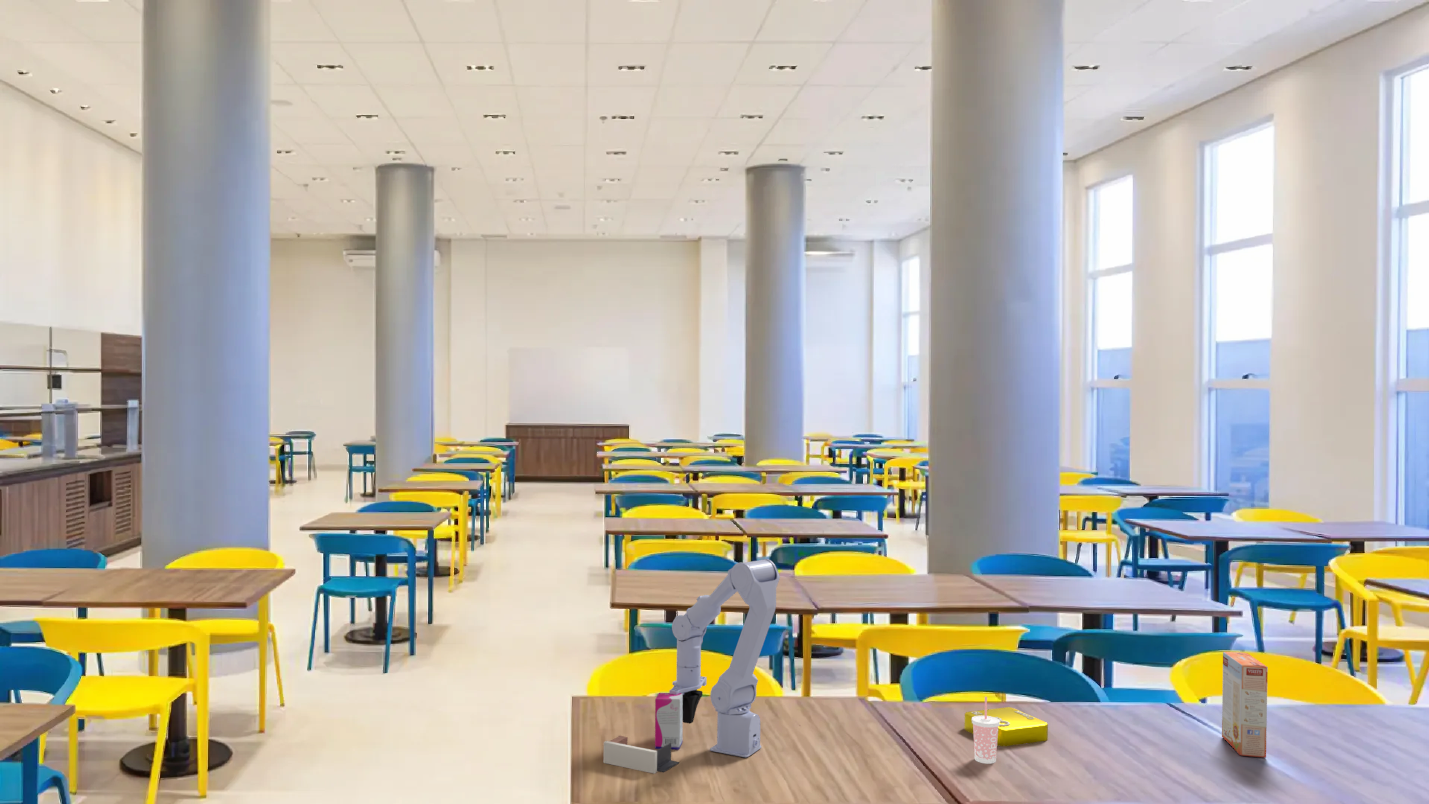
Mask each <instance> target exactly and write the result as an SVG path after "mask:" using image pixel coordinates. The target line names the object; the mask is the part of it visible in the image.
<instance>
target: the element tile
mask: <svg viewBox="0 0 1429 804" xmlns="http://www.w3.org/2000/svg"><path fill="white" fill-rule="evenodd" d="M974 716H985V709H982V710H981V709H980V710H973V711H972V710H971V711H965V713H964V722H963V723H964V724H963V726H964V727H963V728H964V731H966V732H968V733H970V734H972V735H974V734H973V723H972V717H974ZM987 716H991V717H995V718H997V719H999V720H1000V725H999V726H998V739H997V747H1010V746H1020V745H1027V744H1026V743H1028V744H1033V743H1040V742H1046V741H1048V740H1049V738H1048V737H1049V736H1048V735H1049V724H1048V722H1046V721H1044V720H1042V719H1040V718H1038V717H1035V716H1033V715H1030V714H1028V713H1025V712H1023V711H1021V710H1019V709H1017V708H1014V707H1011V706H1005V707H1000V708H999V707H996V708H989V709H988V708H987Z"/></svg>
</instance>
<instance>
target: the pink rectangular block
mask: <svg viewBox="0 0 1429 804" xmlns="http://www.w3.org/2000/svg"><path fill="white" fill-rule="evenodd" d="M628 739H629V738H628V736H624V735H618V736H616V737H615V738H612V739H611V740H609V741H610V742H615V743H620V744H625V745H628Z"/></svg>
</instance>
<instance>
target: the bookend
mask: <svg viewBox="0 0 1429 804" xmlns="http://www.w3.org/2000/svg"><path fill="white" fill-rule="evenodd" d="M656 751H657V772H659V773H666V772H667V771H669V770H670V769H672V768H674V767H675V766H677V765H679V764H680V762H679V761H677V760H672V749H671V743H669V744H667V745H665V746H664V747H662V748H660V749H656Z"/></svg>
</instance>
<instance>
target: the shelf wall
mask: <svg viewBox="0 0 1429 804" xmlns="http://www.w3.org/2000/svg"><path fill="white" fill-rule="evenodd" d="M610 741H611V740H605V741H603V764H607V765H612V766H617V767H621V768H627V769H631V770H636V771H640V772H645V773H649V774H656V773H657V772H658V771H657V750H656V749H649V748H644V747H639V746H633V745H629V744H627V745H625V744H620V743H615V742H610Z"/></svg>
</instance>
